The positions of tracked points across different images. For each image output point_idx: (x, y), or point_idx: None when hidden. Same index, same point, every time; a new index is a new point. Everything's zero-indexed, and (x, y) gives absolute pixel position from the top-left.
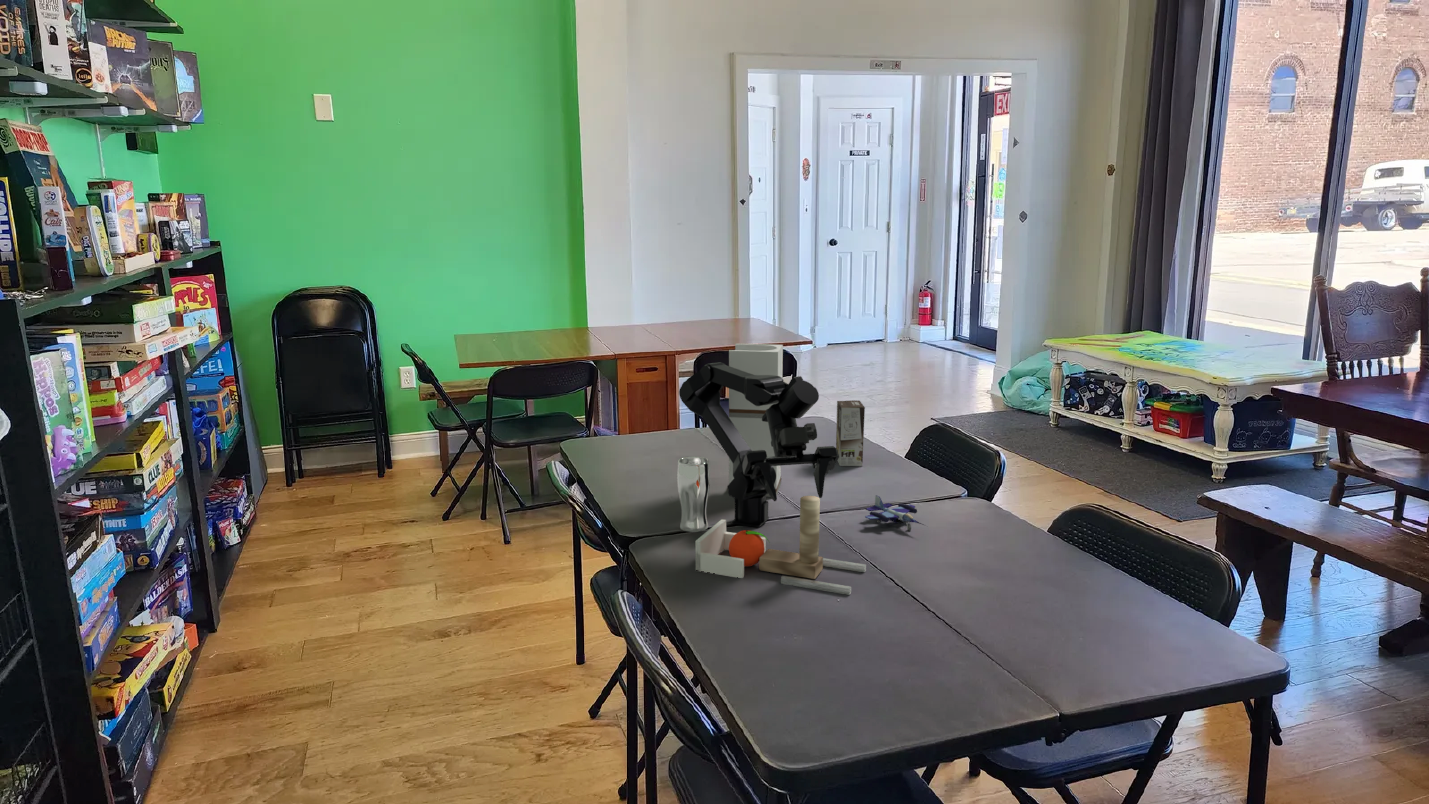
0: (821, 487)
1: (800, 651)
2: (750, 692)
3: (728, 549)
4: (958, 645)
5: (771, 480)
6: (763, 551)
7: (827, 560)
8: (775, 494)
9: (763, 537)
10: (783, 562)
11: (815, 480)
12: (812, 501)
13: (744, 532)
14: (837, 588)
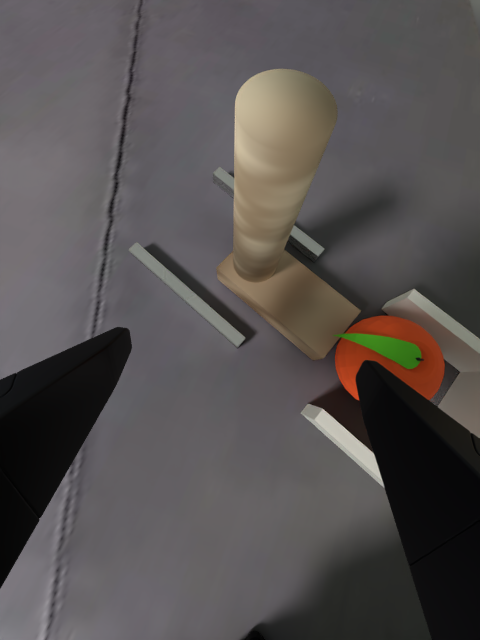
0: (90, 345)
1: (363, 64)
2: (446, 15)
3: None
4: (159, 17)
5: (457, 442)
6: (346, 332)
7: (195, 295)
8: (380, 373)
9: (320, 422)
10: (313, 273)
11: (47, 491)
12: (291, 73)
13: (418, 369)
14: None
